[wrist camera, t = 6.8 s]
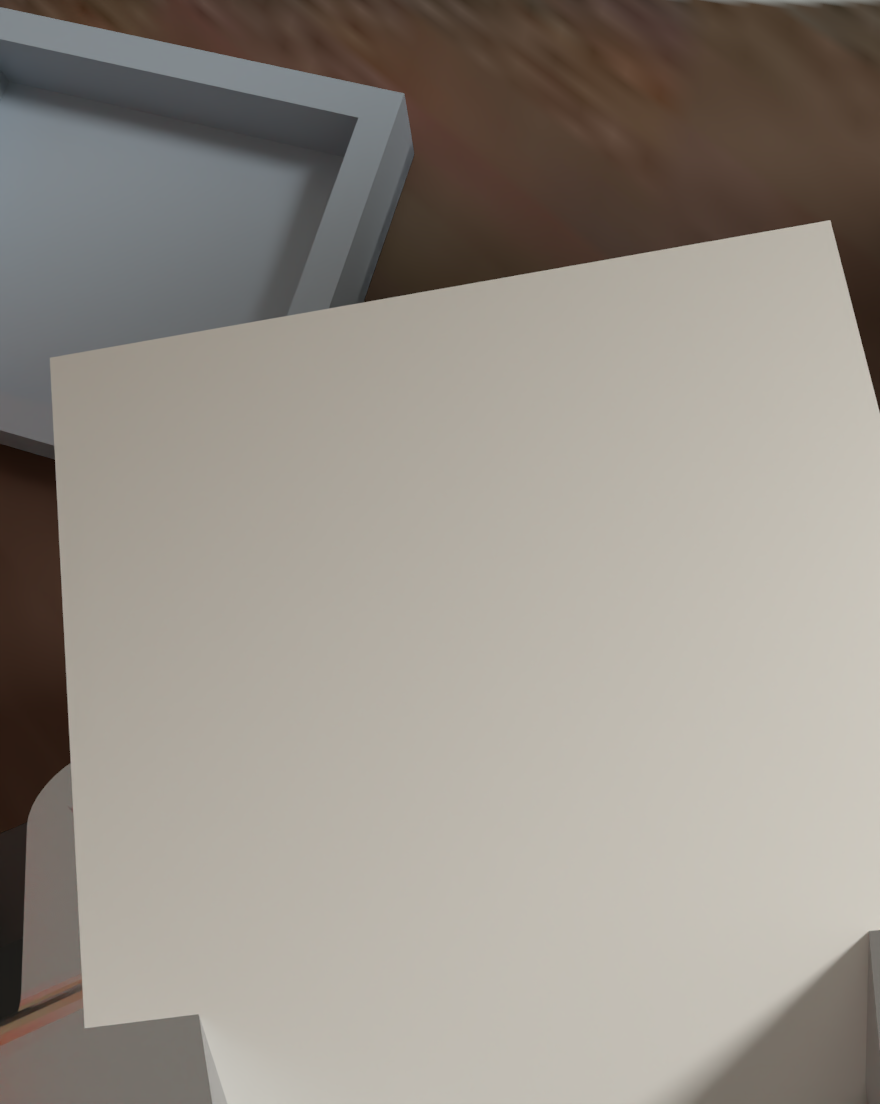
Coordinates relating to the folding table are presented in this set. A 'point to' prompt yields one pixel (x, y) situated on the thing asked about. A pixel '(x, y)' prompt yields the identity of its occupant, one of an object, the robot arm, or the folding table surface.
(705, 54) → the folding table surface
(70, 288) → the tray
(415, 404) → the tall white pillar
